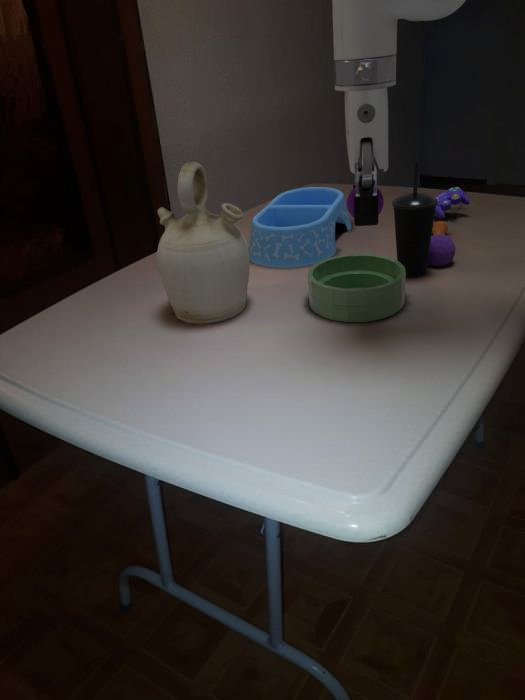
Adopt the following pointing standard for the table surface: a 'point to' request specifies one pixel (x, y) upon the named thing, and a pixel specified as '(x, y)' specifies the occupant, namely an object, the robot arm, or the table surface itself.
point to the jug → (202, 254)
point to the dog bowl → (298, 227)
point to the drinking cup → (414, 228)
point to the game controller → (450, 201)
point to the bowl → (357, 287)
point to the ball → (351, 201)
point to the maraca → (440, 246)
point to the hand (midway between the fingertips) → (365, 217)
